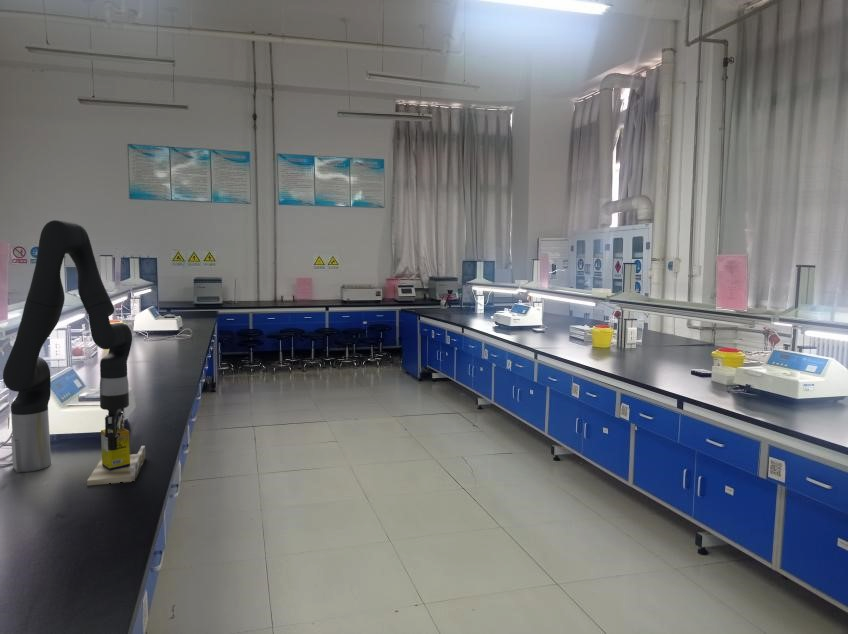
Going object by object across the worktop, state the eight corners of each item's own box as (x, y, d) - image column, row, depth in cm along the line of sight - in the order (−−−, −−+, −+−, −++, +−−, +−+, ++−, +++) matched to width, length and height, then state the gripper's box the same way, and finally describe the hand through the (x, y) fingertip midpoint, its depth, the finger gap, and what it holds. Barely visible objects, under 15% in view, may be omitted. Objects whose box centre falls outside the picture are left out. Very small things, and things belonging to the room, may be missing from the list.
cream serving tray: (135, 481, 169) (134, 467, 169) (87, 485, 166) (86, 471, 165) (146, 457, 188) (145, 445, 188) (103, 461, 185) (102, 448, 184)
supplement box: (130, 466, 177) (129, 430, 176) (109, 471, 173) (107, 434, 171) (123, 460, 181) (121, 425, 180) (101, 465, 177) (100, 430, 175)
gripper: (123, 396, 169) (125, 452, 170) (132, 385, 182) (134, 437, 184) (94, 397, 166) (95, 454, 168) (105, 386, 180) (107, 438, 182)
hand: (115, 445), depth 176 cm, fingers open, 8 cm apart
